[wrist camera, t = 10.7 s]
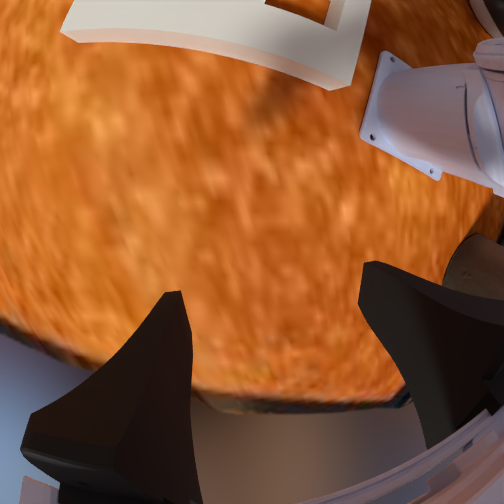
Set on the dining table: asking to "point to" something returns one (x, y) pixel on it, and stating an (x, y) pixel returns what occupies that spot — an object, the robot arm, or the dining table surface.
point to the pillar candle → (477, 268)
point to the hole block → (233, 32)
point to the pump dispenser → (490, 15)
